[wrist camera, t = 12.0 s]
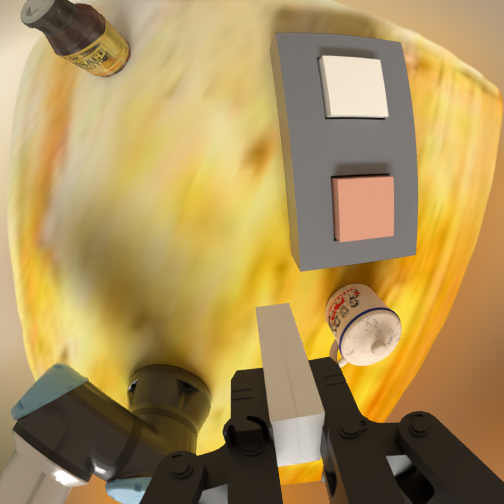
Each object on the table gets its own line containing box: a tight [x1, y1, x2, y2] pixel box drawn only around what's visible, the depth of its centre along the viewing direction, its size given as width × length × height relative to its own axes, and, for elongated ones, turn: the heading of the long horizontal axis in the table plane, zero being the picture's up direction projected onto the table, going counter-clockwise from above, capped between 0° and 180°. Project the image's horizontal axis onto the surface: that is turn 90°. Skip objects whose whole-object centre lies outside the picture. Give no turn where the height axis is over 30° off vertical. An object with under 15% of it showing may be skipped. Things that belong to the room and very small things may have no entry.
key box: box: [270, 33, 418, 272], centre depth 33 cm, size 16×28×6 cm, turn 6°
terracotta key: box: [331, 174, 394, 242], centre depth 33 cm, size 7×7×4 cm
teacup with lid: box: [325, 284, 401, 367], centre depth 39 cm, size 12×9×12 cm
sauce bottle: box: [21, 0, 130, 77], centre depth 21 cm, size 6×6×20 cm
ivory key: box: [317, 56, 388, 119], centre depth 29 cm, size 7×7×4 cm
